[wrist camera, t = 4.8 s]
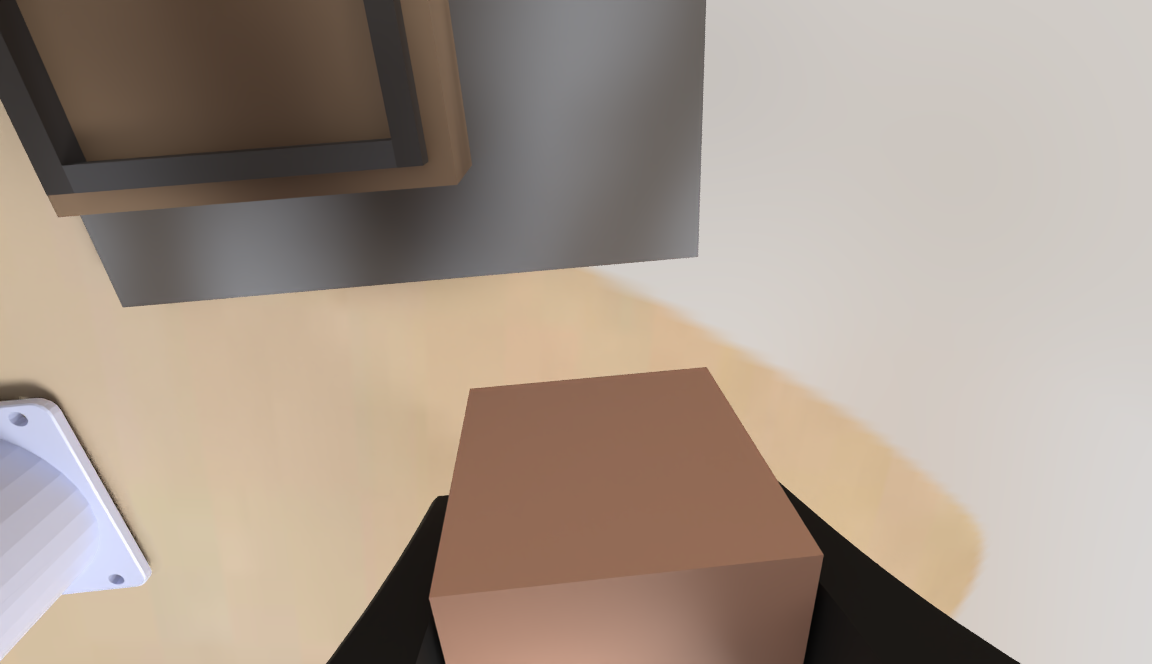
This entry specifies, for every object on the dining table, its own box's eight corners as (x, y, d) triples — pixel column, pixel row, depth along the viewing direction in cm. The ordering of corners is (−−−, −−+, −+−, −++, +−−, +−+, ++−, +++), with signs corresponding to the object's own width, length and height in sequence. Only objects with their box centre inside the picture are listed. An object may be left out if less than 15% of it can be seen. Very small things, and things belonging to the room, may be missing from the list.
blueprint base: (151, 291, 16) (5, 371, 11) (-93, -271, 11) (-526, -518, 6) (686, 245, 16) (742, 303, 12) (699, -308, 11) (804, -554, 7)
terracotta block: (498, 561, 12) (483, 810, 8) (470, 388, 10) (428, 597, 6) (697, 540, 12) (782, 771, 8) (706, 367, 10) (824, 554, 6)
